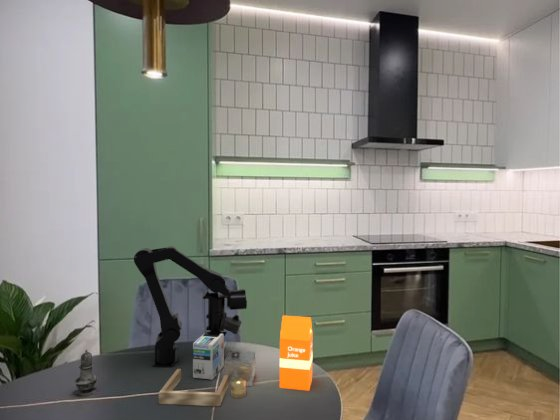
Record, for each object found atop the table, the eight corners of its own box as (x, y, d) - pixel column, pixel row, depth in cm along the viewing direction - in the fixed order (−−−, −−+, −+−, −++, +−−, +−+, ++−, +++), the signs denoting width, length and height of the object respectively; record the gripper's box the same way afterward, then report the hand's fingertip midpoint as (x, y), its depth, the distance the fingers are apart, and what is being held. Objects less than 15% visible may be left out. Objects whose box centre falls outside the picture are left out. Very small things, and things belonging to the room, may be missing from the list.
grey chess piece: (102, 388, 109) (102, 347, 109) (85, 398, 104) (86, 354, 104) (86, 385, 111) (86, 344, 111) (69, 394, 106) (69, 351, 105)
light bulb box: (212, 380, 115) (213, 344, 115) (191, 378, 116) (192, 343, 116) (224, 365, 125) (224, 333, 125) (205, 363, 127) (205, 331, 127)
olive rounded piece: (229, 397, 105) (230, 383, 105) (232, 390, 109) (232, 376, 109) (244, 398, 104) (244, 383, 104) (246, 391, 108) (246, 377, 108)
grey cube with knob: (224, 385, 112) (224, 358, 112) (229, 373, 120) (230, 348, 120) (252, 386, 111) (252, 359, 111) (256, 374, 119) (256, 349, 119)
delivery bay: (158, 403, 101) (158, 392, 101) (177, 378, 116) (177, 368, 116) (219, 406, 100) (219, 394, 100) (230, 380, 115) (230, 370, 115)
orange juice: (284, 376, 118) (284, 311, 118) (312, 378, 116) (313, 313, 116) (279, 387, 111) (279, 319, 110) (309, 391, 109) (309, 321, 109)
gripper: (234, 319, 121) (234, 368, 121) (243, 304, 140) (243, 346, 140) (200, 318, 122) (200, 366, 122) (213, 303, 140) (213, 345, 141)
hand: (216, 355), depth 131 cm, fingers closed
